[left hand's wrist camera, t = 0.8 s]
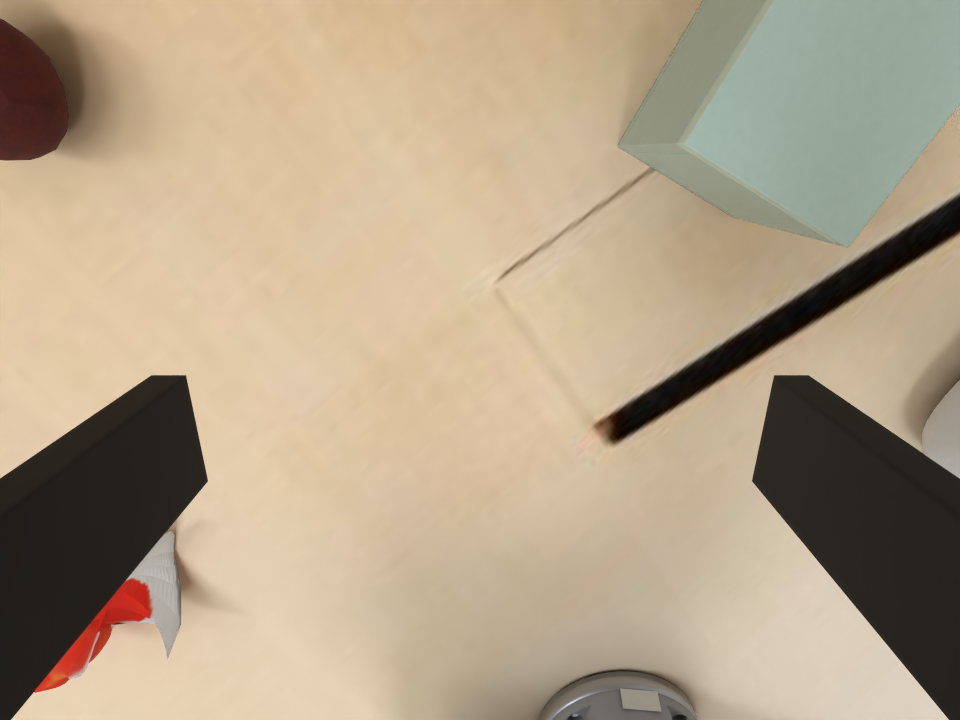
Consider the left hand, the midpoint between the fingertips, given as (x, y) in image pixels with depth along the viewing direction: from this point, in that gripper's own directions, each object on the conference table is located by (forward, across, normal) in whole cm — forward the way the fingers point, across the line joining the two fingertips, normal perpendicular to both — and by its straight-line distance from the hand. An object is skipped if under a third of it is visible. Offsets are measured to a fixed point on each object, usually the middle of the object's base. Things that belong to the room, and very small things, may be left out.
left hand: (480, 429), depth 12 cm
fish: (+26, +30, +27) cm, 48 cm away
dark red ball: (+26, +27, -9) cm, 38 cm away
